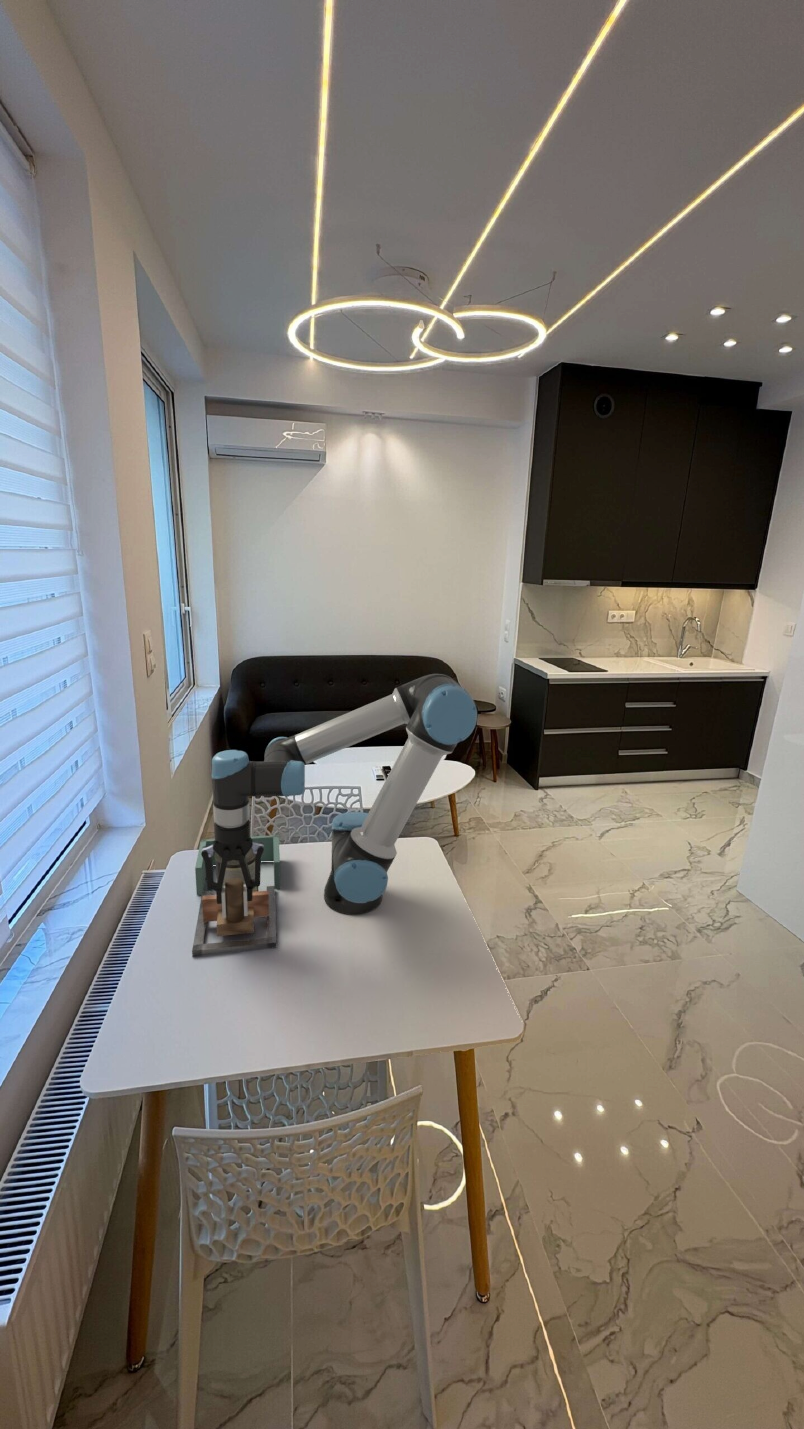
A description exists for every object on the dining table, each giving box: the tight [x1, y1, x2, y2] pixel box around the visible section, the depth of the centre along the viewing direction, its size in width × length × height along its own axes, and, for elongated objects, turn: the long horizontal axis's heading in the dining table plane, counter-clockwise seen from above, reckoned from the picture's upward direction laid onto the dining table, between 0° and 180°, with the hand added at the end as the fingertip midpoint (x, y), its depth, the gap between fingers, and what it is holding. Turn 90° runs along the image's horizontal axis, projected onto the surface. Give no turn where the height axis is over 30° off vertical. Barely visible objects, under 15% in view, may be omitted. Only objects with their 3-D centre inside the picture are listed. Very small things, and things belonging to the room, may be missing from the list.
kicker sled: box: [202, 878, 269, 937], centre depth 135 cm, size 15×7×12 cm, turn 103°
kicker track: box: [191, 885, 277, 958], centre depth 141 cm, size 18×23×2 cm
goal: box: [194, 834, 281, 896], centre depth 158 cm, size 21×15×8 cm
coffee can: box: [215, 848, 259, 892], centre depth 146 cm, size 10×10×14 cm
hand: (235, 913), depth 134 cm, fingers closed on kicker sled, 4 cm apart
